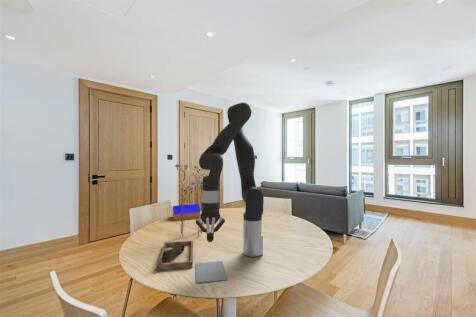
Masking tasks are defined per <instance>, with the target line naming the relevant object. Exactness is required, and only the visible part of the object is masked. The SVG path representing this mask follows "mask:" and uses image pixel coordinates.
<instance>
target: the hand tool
mask: <svg viewBox="0 0 476 317" xmlns="http://www.w3.org/2000/svg"><path fill="white" fill-rule="evenodd" d="M184 251H185V246H184V244H181V243H179V244H177V246H173V247H171V249H166V250H165V251H164V252H163V256H162V263H168V262H169V261H171V259H172V258H173V257H174V256H176V255H178V254H179V253H181V252H184Z"/></svg>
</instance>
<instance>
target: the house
mask: <svg viewBox="0 0 476 317" xmlns="http://www.w3.org/2000/svg"><path fill="white" fill-rule="evenodd" d="M181 206H182V205H181V204H180V205H178V204H177V205H173V206H172V218H173V221H181V220H182V219H181V209H182V214H183V220H184V221H185V220H191V219H193V220H194V219H198V218H200V215H201V210H200V209H201V207H200V206H201V205H200V203H198V206H197V203H195V204H194V203H193V204H187V205H186V204H184V205H183V206H184V207H183V206H182V208H181ZM185 206H186V207H185ZM183 209H184V210H183ZM198 210H200V211H199V212H198Z"/></svg>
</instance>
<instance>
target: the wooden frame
mask: <svg viewBox="0 0 476 317" xmlns="http://www.w3.org/2000/svg"><path fill="white" fill-rule="evenodd" d="M179 243H181V244H184V247H186V246H190V260H187V261H175V262H165V263H162V256H163V252H164V251H166V250H167V248H173V247H175V246H177V244H179ZM193 251H194V240H184V241H183V240H179V241H166V242H164V243H163V246H162V249H161V252H160V254H159V258H158V261H157V263H156V271H158V272H159V271H169V270H170V271H171V270H179V269H180V270H181V269H190V268H193V267H194V266H193V261H194V252H193Z"/></svg>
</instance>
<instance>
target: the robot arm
mask: <svg viewBox="0 0 476 317" xmlns="http://www.w3.org/2000/svg"><path fill="white" fill-rule="evenodd" d="M226 114H227V119H228V124H227V125H226V126H224V128H222V130H221V131H219V133H218V135H216V138H214V140H213V143H212V144H211V145H210V146H208V147H207V148H206V149H205V150H204V151H203V152H202V154H200V157H199V159H198V165H199V167H200V169H201V170H202V169H203V171H208V174H207V175H205V176H202V179H203V180H202V181H201V182H202V183H201V184H202V195H201V197H202V198H201V199H200V200H201V203H202V205H201V206H202V207H200V209H201V210H200V218H195V225H196V226H197V227H199V230H202V233H206V240H207V242H208V243H213V241H214V238H215V237H214V235H215V234H214V233H215V232H216V233H217V232H218V231H219V230H220V229H221V227H222V226H223V225H224V223H225V222H226V220H225V218H224V217H221V213H220V178H221V175H222V171H223V167H224V160H223V157H222V155H225V154H226V153H227V152H228V149H229V147H230V146H231V144H232V142H233V144H234V145H233V146H234V153H235V158H236V164H237V169H238V173H239V177H240V186H241V187H240V188H241V198H242V200H243V201H244V203H245V210H244V213H243V217H242V218H243V225H242V226H243V231H242V232H243V233H242V234H243V235H242V236H243V240H242V241H243V245H242V247H243V248H242V250H243V252H242V253H243V254H244V255H245V256H247V257H251V258H253V257H254V258H255V257H260V256H263V255H264V235H263V233H262V230H263V228H262V226H263V224H262V223H263V222H262V221H263V220H262V219H263V218H262V217H263V214H264V200H265V198H264V194H263V191H262V190H261V189H260V188H258V187H257V186H256V181H255V167H256V166H255V165H256V156H255V152H254V151H255V150H254V147H253V145H252V143H251V142H250V140H249V139H248V137H247V136H246V135H245V133H244V132H243V130H244V129H243V127H244V126H245V125H246V123H247V122H248V121H249V120H250V118H252V117H251V116H252V108H251V105H250V104H249V103H248V102H239V103H236V104H233V105H230V106H229V107H228V108H227V112H226ZM201 220H202V221H201ZM201 222H204V223H203V224H201ZM216 224H217V225H216ZM204 225H205V226H206V227H205V226H204ZM215 225H216V226H215Z"/></svg>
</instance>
